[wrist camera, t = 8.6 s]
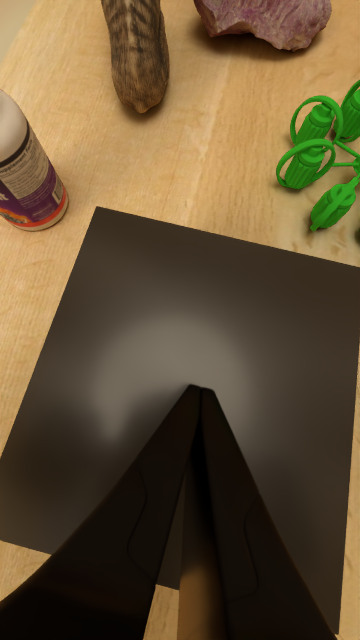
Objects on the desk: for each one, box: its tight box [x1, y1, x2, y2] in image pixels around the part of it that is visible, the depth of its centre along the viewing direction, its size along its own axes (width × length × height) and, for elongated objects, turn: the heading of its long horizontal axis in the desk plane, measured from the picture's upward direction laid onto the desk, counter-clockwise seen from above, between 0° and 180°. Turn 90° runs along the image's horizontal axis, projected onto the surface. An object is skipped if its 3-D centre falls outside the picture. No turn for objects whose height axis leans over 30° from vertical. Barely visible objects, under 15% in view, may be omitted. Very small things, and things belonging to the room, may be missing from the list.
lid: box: [0, 206, 360, 635], centre depth 11 cm, size 14×14×1 cm
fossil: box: [194, 0, 332, 52], centre depth 24 cm, size 8×14×5 cm, turn 92°
